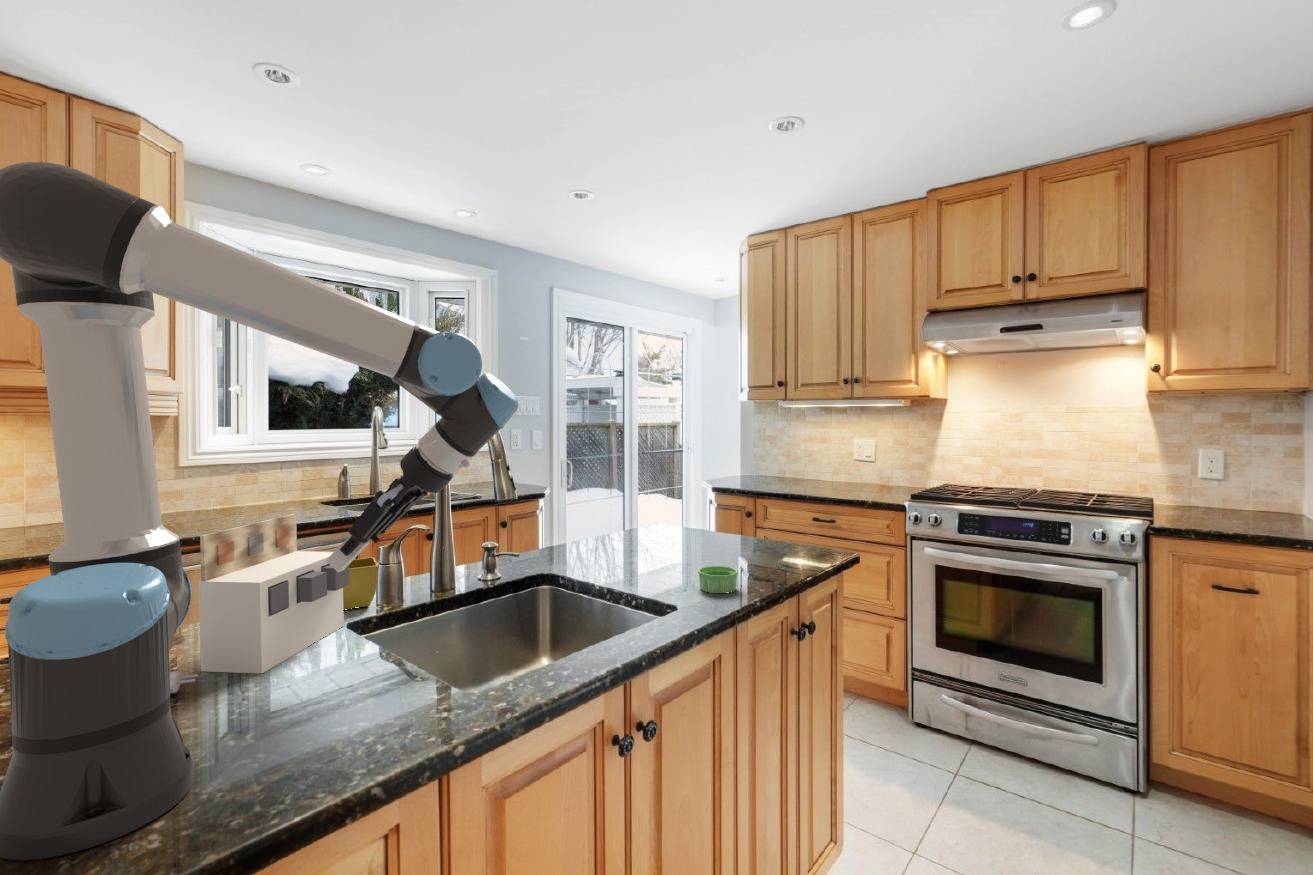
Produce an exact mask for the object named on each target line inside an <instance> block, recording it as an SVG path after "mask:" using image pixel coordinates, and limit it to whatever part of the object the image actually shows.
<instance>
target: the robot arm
mask: <svg viewBox="0 0 1313 875" xmlns="http://www.w3.org/2000/svg"><path fill="white" fill-rule="evenodd" d="M0 259H1V260H3V261H5V262H6V263H8V264H9V265H11V269H12V278H13V285H14V292H15V299H16V306H17V308H16V309H17V311H19V312H20V313H21V314H23V315H24V316H25V317H27V318H28V319H30V320H31V321H32V322H34V323H35V324H36V325H37V327H39V332H40V333H39V334H40V341H41V349H42V358H43V359H42V360H43V366H44V373H45V374H44V375H45V376H44V377H45V382H46V392H47V400H48V406H49V407H48V408H49V413H50V414H49V416H50V424H51V431H52V439H53V442H52V443H53V449H54V456H55V464H56V465H55V466H56V472H57V482H58V488H59V490H58V491H59V497H60V505H61V506H60V508H61V513H62V521H63V522H62V523H63V531H64V539H63V541H62V543H61V544H60V545H59V546H57V548H55V549H54V550H53V551H52V552H51V553H50V554H49V555H48V564H49V565H48V566H49V574H50V575H47V576H44V577H41V578H39V579H36V580H34V581H32V582H30V583H29V584H27V585H25V586H23V587H22V588H21V589H20V590H18V591H17V592H16V594H15V595H14V596H13V597H12V598H11V600H10V601H9V605H8V609H7V620H6V622H5V626H4V631H5V634H4V637H5V640H6V643H7V650H8V651H7V652H8V675H9V676H8V677H9V696H10V697H9V699H10V716H11V737H12V738H11V739H12V740H11V741H12V755H11V759H10V762H9V765H8V767H7V771H6V773H5V776H4V779H3V782H2V785H1V787H0V858H1V859H4V860H13V861H33V860H43V859H49V858H55V857H59V856H65V855H68V854H69V855H70V854H73V853H76V852H81V851H83V850H88V849H91V848H93V847H96V846H99V845H103V844H104V843H108V842H110V841H112V840H115V839H118V838H121V837H123V836H125V835H127V834H130V833H132V832H133V831H136V830H138V829H140V828H142V827H143V826H145V825H147V824H149V823H150V822H152V821H154V820H157V818H160V817H161V816H162V815H164V814H165V813H167V812H168V811H170V810H171V809H172V808H174V807H175V806H176V805H177V804H178V803H180V802H181V801H182V799H183V798H184V797H186V795H187V794H188V793H189V791H190V790H191V788H192V786H193V784H194V781H195V780H194V778H195V777H194V775H195V774H194V759H193V755H192V753H191V751H190V750H189V749H188V748H187V747H186V745H185V742H184V739H183V736H182V734H181V731H180V729H179V727H178V725H177V723H176V721H175V719H174V717H173V715H172V707H171V694H170V672H171V671H170V647H171V646H170V645H171V643H172V640H173V639H174V636H175V635H176V632H177V631H178V628H179V627H180V626H182V624H183V622H184V620H185V619H186V617H187V615H188V613H189V611H190V610H189V609H190V605H191V603H192V593H193V592H192V591H193V590H192V585H191V580H190V579H189V575H188V573H187V572H186V571H185V568H184V566H183V559H182V558H183V557H182V550H181V543H180V537H179V534H176V533H175V532H173V531H171V530H170V529H168V528H167V527H165V526H164V525H163V523H162V513H161V504H160V503H161V502H160V495H159V486H158V485H159V484H158V475H157V468H156V458H155V449H154V440H153V432H152V422H151V415H150V414H151V412H150V404H149V396H148V395H149V394H148V387H147V377H146V370H145V359H144V349H143V342H142V332H141V329H142V327H143V326H144V325H145V324H146V323H147V322H149V321H150V320H151V319H152V318H154V317H155V314H156V313H155V302H154V294H155V295H158V296H160V297H164V298H166V299H169V300H172V301H175V302H178V303H180V304H183V305H186V306H188V307H192V308H194V309H198V310H201V311H203V312H207V313H209V314H212V315H214V316H217V317H220V318H223V319H226V320H229V321H232V322H234V323H237V324H240V325H243V326H246V327H248V328H251V329H254V330H257V331H260V332H262V333H265V334H268V335H271V336H274V337H276V338H280V339H282V340H285V341H288V342H290V343H293V344H296V345H298V346H302V347H305V348H308V349H309V350H310V349H311V350H313V351H315V352H319V353H321V354H325V355H327V356H330V357H333V358H336V359H339V360H342V361H344V362H347V363H350V364H353V365H355V366H359V367H362V368H363V369H368V370H370V371H372V372H376V373H379V374H381V375H383V376H387V377H389V378H390V379H391V381H392V382H393V383H394V384H397V385H398V386H400V387H401V388H403V390H406V392H408V393H409V394H411V395H412V396H414V397H415V398H416V400H419V401H420V402H421V403H422V404H424V405H425V406H427V407H428V408H429V409H431V410H432V411H433V412H434V413H435V414H437V415H438V416H440V419H439V420H437V421H436V423H435V424H434V425H432V426H431V427H430V429H429V430H428V431H427V432H426V433H425V434H424V435H423V436H422V437H420V439H419V440H418V444H415V445H414V446H412V448H411V449H410V450H409V451H408V452H407V453H406V454H405V455H404V456H403V457H402V458H401V460H400V464H399V465H400V469H401V471H402V477H400V478H399V477H397V478H395V479H393V481H392V482H391V483H389V486H388V488H387V490H386V491H383V490H382V489H381V490H378V491H377V492H376V493H375V495H374V496H373V499H372V501H370V503H369V504H368V506H367V507H366V508H365V510H364V511H363V512H362V513H361V515H360V516H358V518H357V519H356V521H355V522H354V523H353V524H352V525H351V526H349V527H348V530H347V532H348V534H349V536H347V538H346V539H344V541H343V542H341V543H340V545H339V546H338V547H337V548H336V549H335V550H334V551H332V552H333V553H332V554H331V555H330V557H329V558H328V559H327V560H326V561H327V562H328V563H329V564H330V565H331V566H332V567H333V568H334V569H335V570H336V571H337V572H341V571H343V570H344V569H345V568H346V567H347V566H348V565H349V564H350V563H351V562H352V561H353V560H354V559H357V557H358V556H359V555H360V554H361V553H362V552H363V551H364V550H365V549H366V548H367V546H368V545H369V544H371V543H372V542H373V543H374V544H377V543H378V542H380V541H381V539H380V538H379V537H378V536H379V535H380V536H382V535H384V534H385V533H386V531H388V530H389V529H390V528H391V527H392V526H393V525H394V524H395V523H396V522H398V521H399V520H400V519H401V518H402V517H403V516H405V514H406V513H408V511H409V510H411V509H412V507H413V506H415V505H416V504H417V503H418V502H419V501H420V500H422V499H423V498H425V497H426V496H427V495H428V494H438V493H440V492H441V491H442V490H443V489H444V488H445V487H446V486H447V485H448V484H449V483H450V482H451V480H452V479H454V475H455V474H456V475H457V474H458V473H459V472H460V471H461V470H462V469H463V468H467V469H468V468H469V467H470V465H471V462H469V461H470V460H472V458H474V457H475V456H476V454H477V453H478V452H479V451H480V450H481V449H482V448H484V446H485V445H486V444H487V443H488V442H489V441H490V440H491V439H492V438H494V436H495V435H496V434H498V432H499V431H500V430H501V429H503V428H504V426H505V425H506V424H507V423H508V421H509V420H511V418H512V417H513V416H514V414H516V412H517V411H518V409H519V400H518V398H517V396H516V395H515V393H514V392H513V391H512V390H511V389H510V387H508V386H507V385H506V384H505V383H504V382H503V381H502V380H500V379H499V378H497V377H496V376H495V375H493V374H491V373H488V372H487V373H486V372H485V373H482V370H483V359H482V354H481V351H480V350H479V348H478V347H477V345H476V344H475V342H473V340H472V339H470V338H469V337H467V336H465V335H463V334H461V333H457V332H452V331H449V332H448V331H444V332H442V331H438V330H436V329H433V328H430V327H429V326H426V325H424V324H421V323H418V322H415V321H414V320H411V319H409V318H407V317H404V316H401V315H400V314H396V313H395V312H392V311H391V310H390V311H389V310H387V309H385V308H382V307H380V306H377V305H376V304H372V303H370V302H368V301H365V300H363V299H360V298H357V296H356V297H355V296H353V295H351V294H348V293H346V292H344V291H342V290H339V289H336V288H333V287H332V286H328V285H327V284H325V283H321V282H319V281H317V280H314V279H311V278H310V277H307V276H304V275H302V274H299V273H297V272H295V271H293V270H289V269H288V268H285V267H283V266H280V265H278V264H275V263H273V262H270V261H268V260H265V259H264V258H260V257H258V256H255V255H253V254H251V253H248V252H246V251H244V250H242V249H239V248H236V247H234V246H231V245H229V244H227V243H224V242H221V241H219V240H217V239H216V238H215V239H214V238H212V237H210V236H208V235H205V234H202V233H200V232H198V231H195V230H193V229H190V228H188V227H187V226H186V227H185V226H183V225H180V224H179V223H176V222H173V221H172V220H171V218H170V216H169V215H168V214H167V212H166V210H165V208H164V207H163V206H160V205H158V204H156V203H154V202H151V201H149V200H146V199H144V198H141V197H139V196H138V195H137V196H136V195H135V194H132V193H130V192H128V191H126V190H123V189H122V188H119V187H117V186H115V185H112V184H111V183H108V182H106V181H104V180H101V179H99V178H97V177H95V176H93V175H91V174H88V173H87V172H83V171H82V170H80V169H76V168H73V167H70V166H67V165H63V164H58V163H54V162H46V161H26V162H19V163H15V164H9V165H7V166H5V167H3V168H0ZM54 856H55V857H54Z"/></svg>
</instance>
